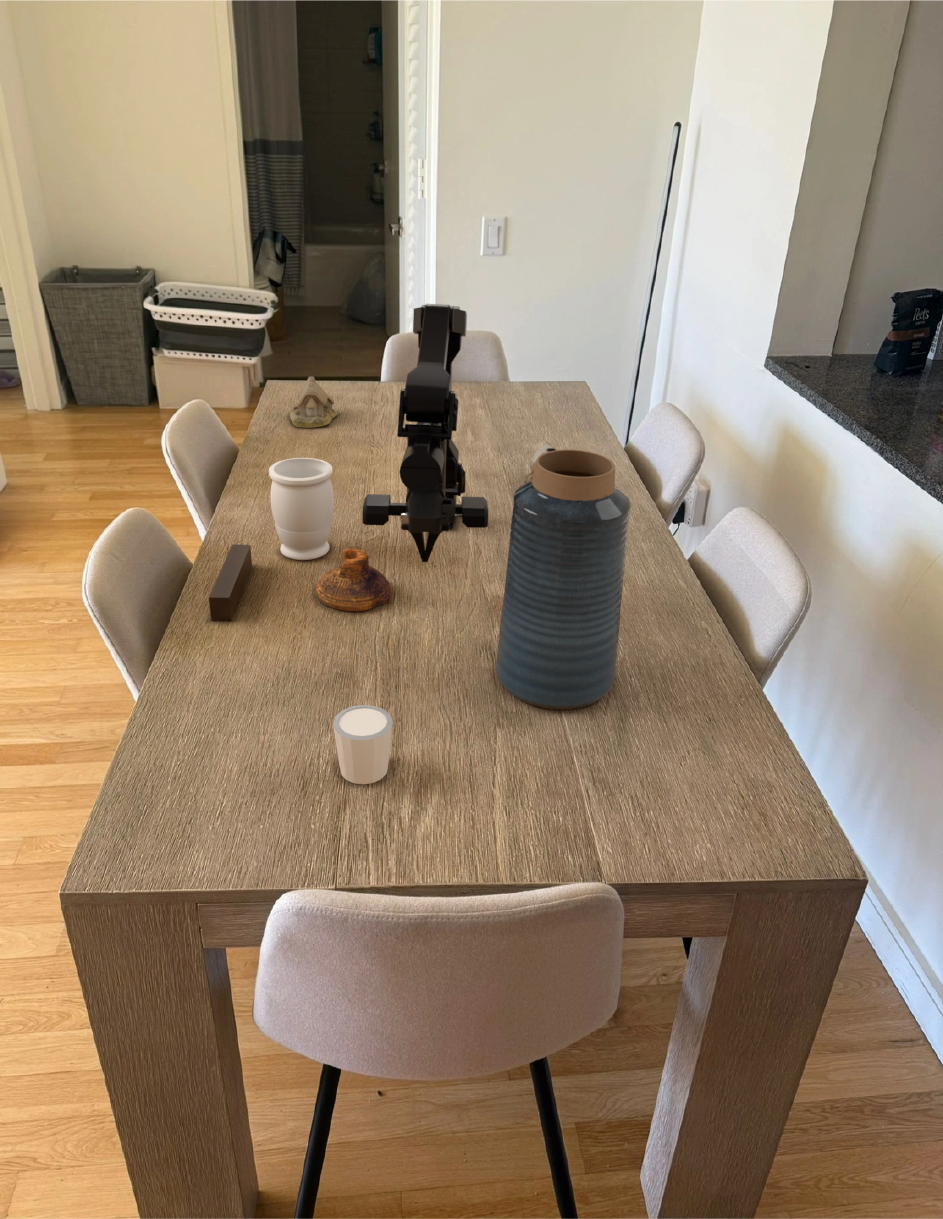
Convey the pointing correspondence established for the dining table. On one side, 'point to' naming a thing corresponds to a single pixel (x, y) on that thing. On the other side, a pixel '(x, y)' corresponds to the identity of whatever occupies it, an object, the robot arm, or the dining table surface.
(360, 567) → the brown clay pot
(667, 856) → the dining table surface
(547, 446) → the ceramic sculpture
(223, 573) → the bar
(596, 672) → the vase
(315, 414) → the ceramic model
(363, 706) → the white cup
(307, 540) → the jar
